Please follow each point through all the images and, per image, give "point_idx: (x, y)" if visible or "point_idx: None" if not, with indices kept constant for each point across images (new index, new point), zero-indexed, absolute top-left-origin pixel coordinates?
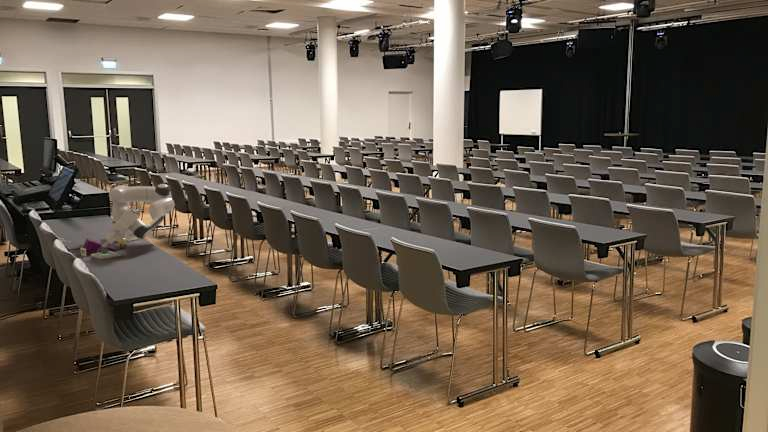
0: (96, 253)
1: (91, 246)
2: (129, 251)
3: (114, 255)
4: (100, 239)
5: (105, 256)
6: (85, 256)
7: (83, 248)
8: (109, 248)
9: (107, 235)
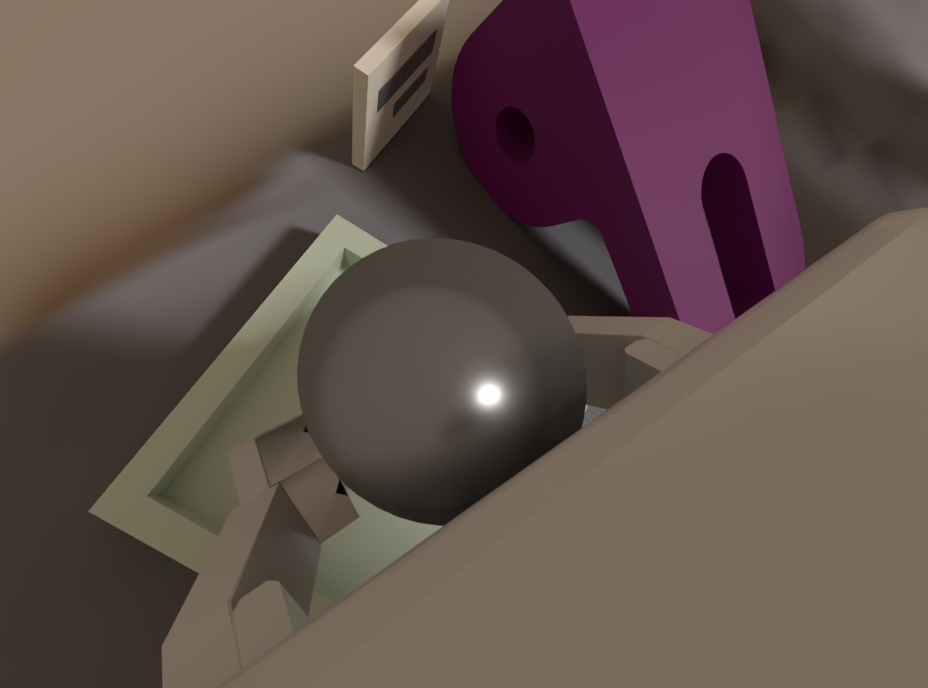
0: None
1: (529, 102)
2: None
3: None
4: (363, 257)
5: (195, 567)
6: (355, 159)
7: (391, 32)
8: None
9: (837, 319)
